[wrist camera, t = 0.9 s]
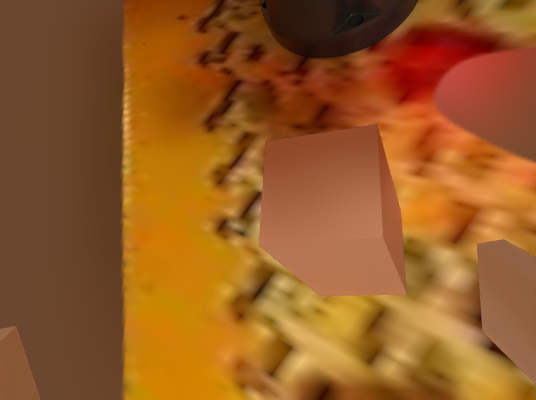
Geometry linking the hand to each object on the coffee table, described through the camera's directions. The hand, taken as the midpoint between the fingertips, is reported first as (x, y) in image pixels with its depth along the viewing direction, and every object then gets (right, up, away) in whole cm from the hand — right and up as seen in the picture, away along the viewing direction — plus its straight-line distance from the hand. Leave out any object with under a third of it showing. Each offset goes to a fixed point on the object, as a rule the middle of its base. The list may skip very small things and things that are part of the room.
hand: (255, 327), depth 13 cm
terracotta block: (+7, 0, +20) cm, 21 cm away
